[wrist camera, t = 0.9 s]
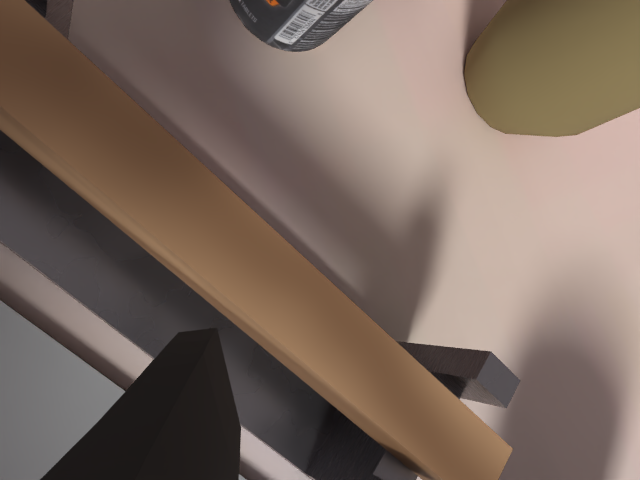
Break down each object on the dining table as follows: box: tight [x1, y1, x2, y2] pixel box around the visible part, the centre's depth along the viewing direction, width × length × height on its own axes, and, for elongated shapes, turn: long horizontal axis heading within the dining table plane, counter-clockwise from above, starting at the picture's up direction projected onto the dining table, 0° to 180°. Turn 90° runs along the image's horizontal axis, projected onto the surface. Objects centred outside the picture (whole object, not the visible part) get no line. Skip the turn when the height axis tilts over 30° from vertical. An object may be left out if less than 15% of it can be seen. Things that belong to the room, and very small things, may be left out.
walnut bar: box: [0, 0, 513, 480], centre depth 18 cm, size 2×24×2 cm, turn 49°
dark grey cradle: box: [0, 0, 520, 480], centre depth 20 cm, size 7×22×8 cm, turn 49°
